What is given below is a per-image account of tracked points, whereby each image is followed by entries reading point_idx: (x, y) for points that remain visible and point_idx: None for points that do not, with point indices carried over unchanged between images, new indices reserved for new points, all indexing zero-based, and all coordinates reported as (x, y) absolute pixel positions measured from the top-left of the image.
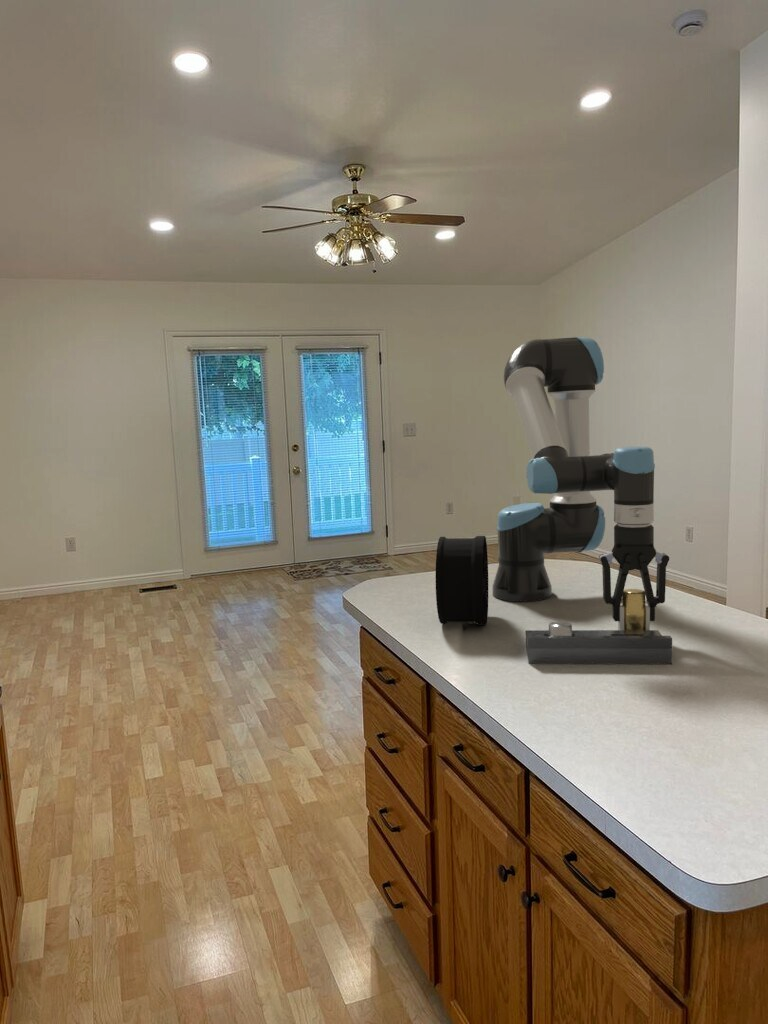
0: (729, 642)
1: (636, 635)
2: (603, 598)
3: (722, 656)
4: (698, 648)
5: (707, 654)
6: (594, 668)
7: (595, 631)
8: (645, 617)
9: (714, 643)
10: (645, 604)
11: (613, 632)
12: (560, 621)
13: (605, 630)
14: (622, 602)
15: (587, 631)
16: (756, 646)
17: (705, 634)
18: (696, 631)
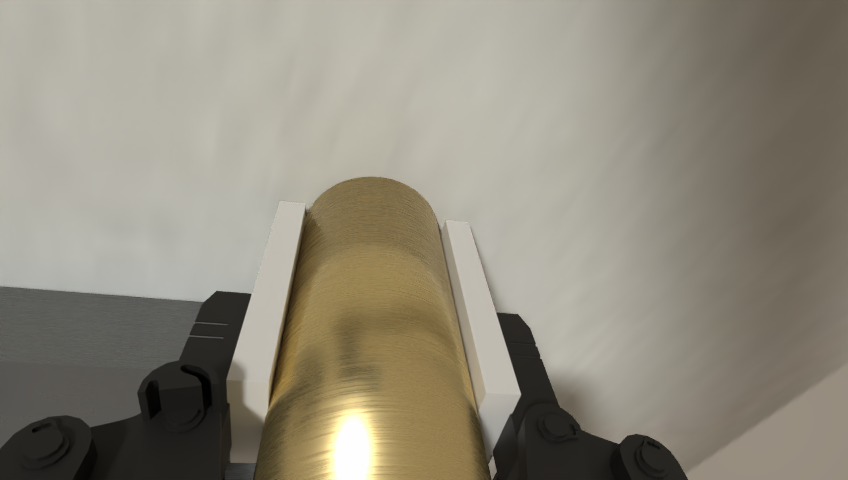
0: (790, 320)
1: None
2: (8, 448)
3: (628, 431)
4: (608, 368)
5: (593, 416)
6: None
7: (77, 380)
8: None
9: (721, 325)
10: (491, 417)
11: None
12: None
13: (149, 370)
14: (259, 448)
15: (17, 379)
16: (835, 363)
17: (803, 210)
18: (810, 153)
